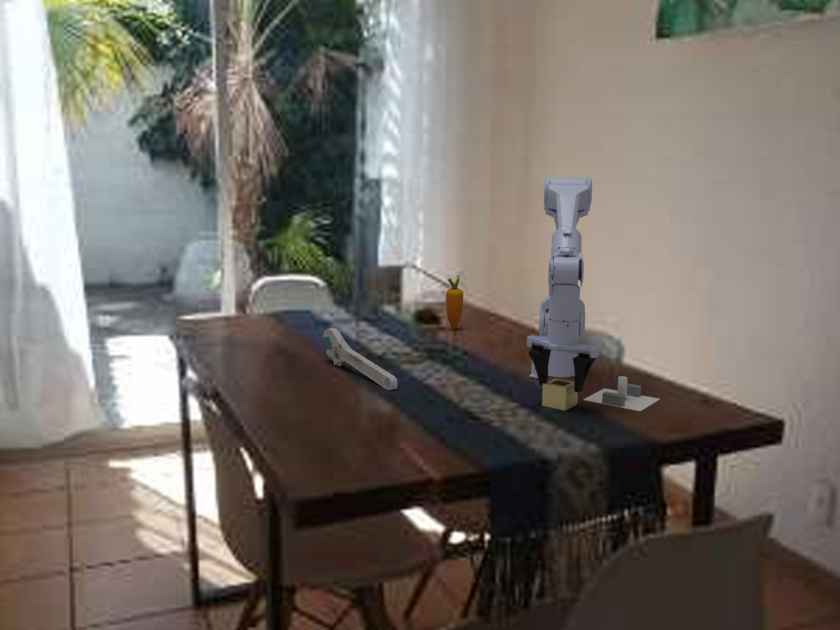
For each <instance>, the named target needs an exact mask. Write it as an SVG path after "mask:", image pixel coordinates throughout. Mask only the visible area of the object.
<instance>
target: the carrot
mask: <svg viewBox="0 0 840 630" xmlns="http://www.w3.org/2000/svg"><path fill="white" fill-rule="evenodd" d="M460 279H461V275H459V274H457V275H456V280H455V281H453V280H452V278H451V277H448V278H447V279H446V280H447V282H448V283H449V284H450V286H451V288H449V289H447V290H446V293H445V309H446V315H447V320H448V322H449V325H450V327H451V329H452V330H453V331H456V329H457V327H458V326H459V324H460V321H461V318H462V315H463V314H462V313H463V307H464V290H463V289H461V288H459V283H460Z"/></svg>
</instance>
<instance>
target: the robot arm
mask: <svg viewBox="0 0 840 630" xmlns="http://www.w3.org/2000/svg"><path fill="white" fill-rule="evenodd" d="M543 189H544V190H543V205H544V206H543V207H544V208H543V209H544V211H545V215H546V216H550V217H551V218H552V219H553V220H554V224H555V228H556V229H555V230H554V231H553V233H552V235H551V251H550V252H551V253H550V258H549V260H548V268H547V269H548V270H547V272H548V273H547V283H548V296H547V297H545V298H544V299H542V301H541V303H540V309H539V319H538V323H539V325H538V334H539V335H533V334H532V335H529V336H527V337H526V347H528V348H531V349H530V350H529V349H528V355H529V357H530V359H531V366H530V367H531V369H530V371H531V372H530V373H531V374H529V378H533V379H537V380H538V385H539V386H543V383H546V382H548V381H549V377H554V378H571V377H574V381H573V382H574V391H575V392H577V393H578V394H579V393H580V392H582V391H583V389H584V386H585V382H586V378H587V375H588V374H589V371H590V369H591V367H592V365H594V363H595V361H596V359H597V358H598V357H599V356H600V348H601V347H600V345H594V344H591V343H588V342H587V343H586V342H583V341H580V340H579V339H582V338H583V337H584V336H585V331H586V329H585V328H586V305H585V303H584V301H583V299H581V288H582V287H583V284H584V283H583V282H584V274H585V273H584V270H585V269H584V267H585V265H584V264H585V263H584V258H583V257H584V256H583V253H582V233H580V231H579V230H578V229H577V225H578V222H579V220H580V219H581V218H583V217H584V218H585V217H587V216H588V214H589V212H590V209H591V205H592V198H593V197H592V196H593V179H592V178H591V177H590V176H587V177H574V176H573V177H569V176H568V177H565V176H563V177H562V176H560V177H559V176H557V177H556V176H553V177H552V176H549V175H548V176H546V177H545V178H544V187H543ZM579 282H580V286H579Z"/></svg>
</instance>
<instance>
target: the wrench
mask: <svg viewBox="0 0 840 630" xmlns="http://www.w3.org/2000/svg"><path fill="white" fill-rule="evenodd" d="M322 337H323V338H329V341H330V343H331V349H326V350H325V351H326V354H327V356H328V357H329V359H331V360H332V361H333V366H334V365H336V366H337V367H341V366H342V363H343V362H346V363H347V364H348V365H350V366H352V367H353V368H355V369H356V370H357V371H359V372H360V373H361V374H362V375H364V376H366V377H368V378H369V379H370V380H371V381H374V382H375V383H376V384H378V385H379V386H380V387H382V388H383V389H385V390H387V389H388V390H387V391H393V390H394V389H395V390H397V389H398V384H399V383H398V379H397V378H396V376H395V375H393V374H391V373H390V372H389V371H387V370H386V369H384V368H382V367H381V366H379V365H377V364H376V363H374V362H373V361H371V360H369V358H366V357H365V356H363V355H362V354H360V353H358V352H357V351H355V350H353V349H352V348H351V347H350V345H348V343H347V342H346V340H345V339H344V337H343V336H342V334H341V332H340V331H339V330H338V329H337V328H336V327H331V328H326V329H325V330H324V331H323V334H322ZM395 390H394V391H395Z"/></svg>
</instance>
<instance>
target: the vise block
mask: <svg viewBox="0 0 840 630" xmlns="http://www.w3.org/2000/svg"><path fill="white" fill-rule="evenodd" d="M617 377H618V379H617V390H615V389H610V388H605V387H604V388H602V389H601V390H598V391H597V392H595V393H593V394H591V395H589V396H587V397H585V398H583V401H588V402H591V403H597V404H601V405H607V406H612V407H617V408H621V409H622V408H623V409H626V410H631V411H636V412H642V411H643V410H645V409H646V408H648V407H650V406H651V405H653V404H655V403H657V402H658V401H659V400H660V399H661V398H657V397H653V396H646V395H642V385H638V384H633V383H628V377H627V376H623V375H621V376H617Z"/></svg>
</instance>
